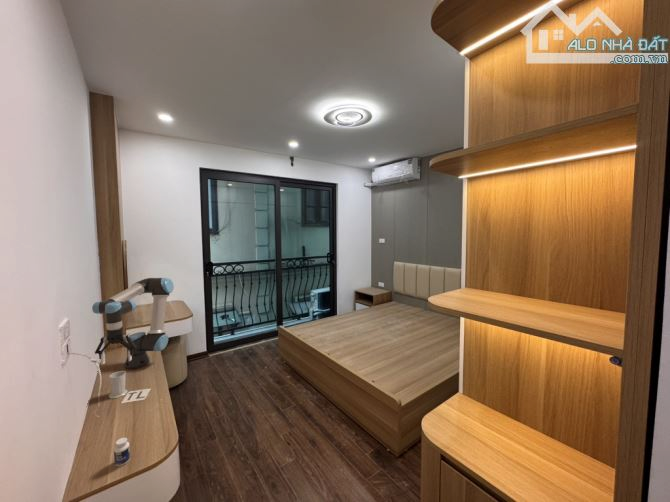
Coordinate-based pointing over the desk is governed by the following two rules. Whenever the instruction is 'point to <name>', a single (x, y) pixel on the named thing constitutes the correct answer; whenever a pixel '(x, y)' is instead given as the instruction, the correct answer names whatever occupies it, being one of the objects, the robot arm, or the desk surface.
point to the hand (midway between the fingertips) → (117, 362)
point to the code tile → (136, 395)
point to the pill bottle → (121, 452)
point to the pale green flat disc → (118, 396)
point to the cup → (117, 383)
